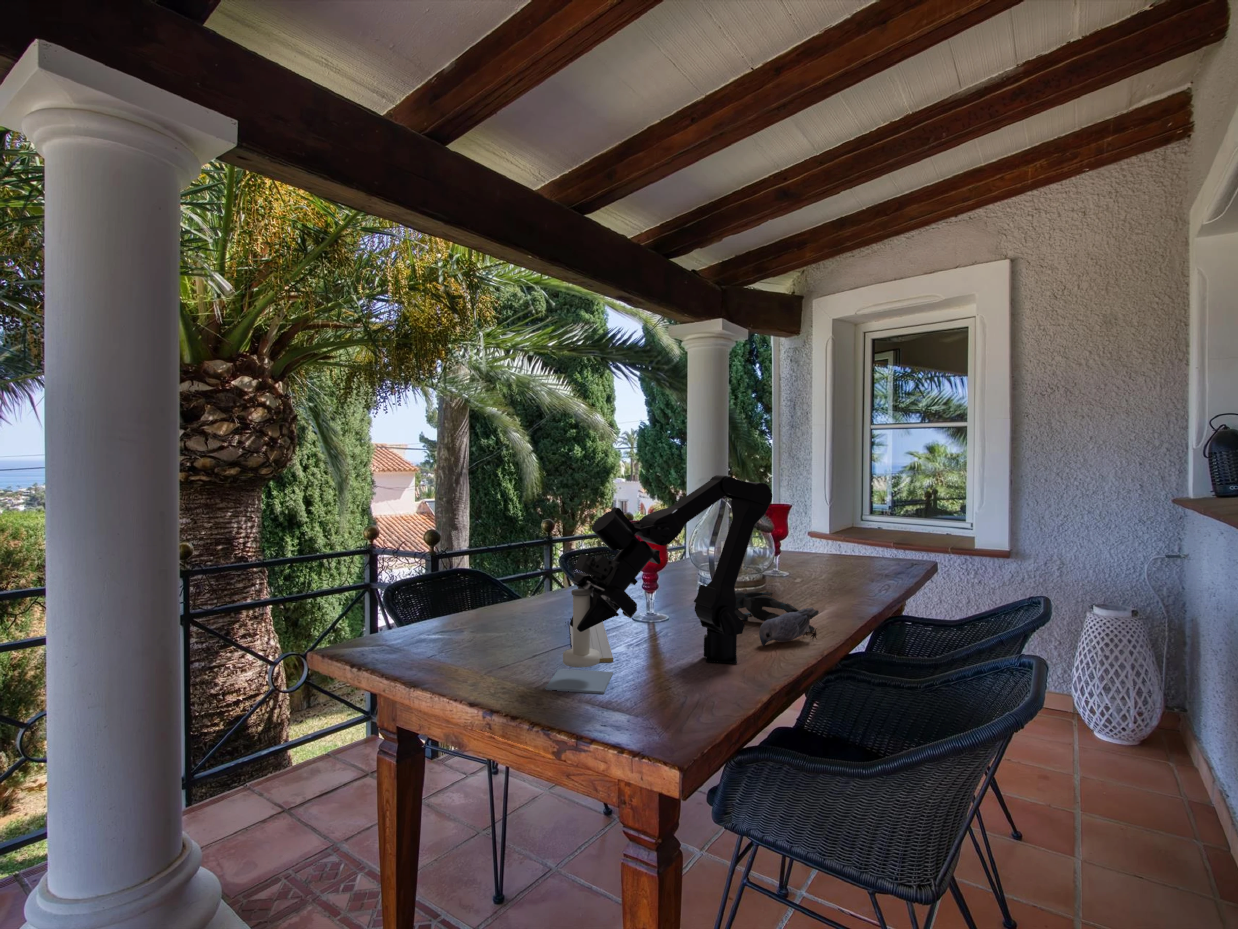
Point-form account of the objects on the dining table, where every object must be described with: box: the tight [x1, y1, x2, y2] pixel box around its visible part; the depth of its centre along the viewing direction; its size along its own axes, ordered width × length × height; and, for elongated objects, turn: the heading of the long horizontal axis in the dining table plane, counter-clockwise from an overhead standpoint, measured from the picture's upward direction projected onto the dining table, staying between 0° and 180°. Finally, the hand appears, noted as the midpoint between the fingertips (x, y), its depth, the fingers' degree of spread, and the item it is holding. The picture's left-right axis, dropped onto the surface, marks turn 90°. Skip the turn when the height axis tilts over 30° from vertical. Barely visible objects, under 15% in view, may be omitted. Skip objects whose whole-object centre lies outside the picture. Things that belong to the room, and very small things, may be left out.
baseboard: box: [564, 617, 614, 663], centre depth 153 cm, size 30×3×10 cm
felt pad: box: [544, 668, 614, 695], centre depth 126 cm, size 11×11×1 cm
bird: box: [758, 607, 818, 647], centre depth 155 cm, size 5×16×8 cm, turn 120°
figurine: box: [735, 590, 819, 632], centre depth 174 cm, size 11×9×30 cm
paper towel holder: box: [562, 588, 600, 668], centre depth 126 cm, size 7×7×14 cm
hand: (574, 628), depth 125 cm, fingers closed on paper towel holder, 3 cm apart
